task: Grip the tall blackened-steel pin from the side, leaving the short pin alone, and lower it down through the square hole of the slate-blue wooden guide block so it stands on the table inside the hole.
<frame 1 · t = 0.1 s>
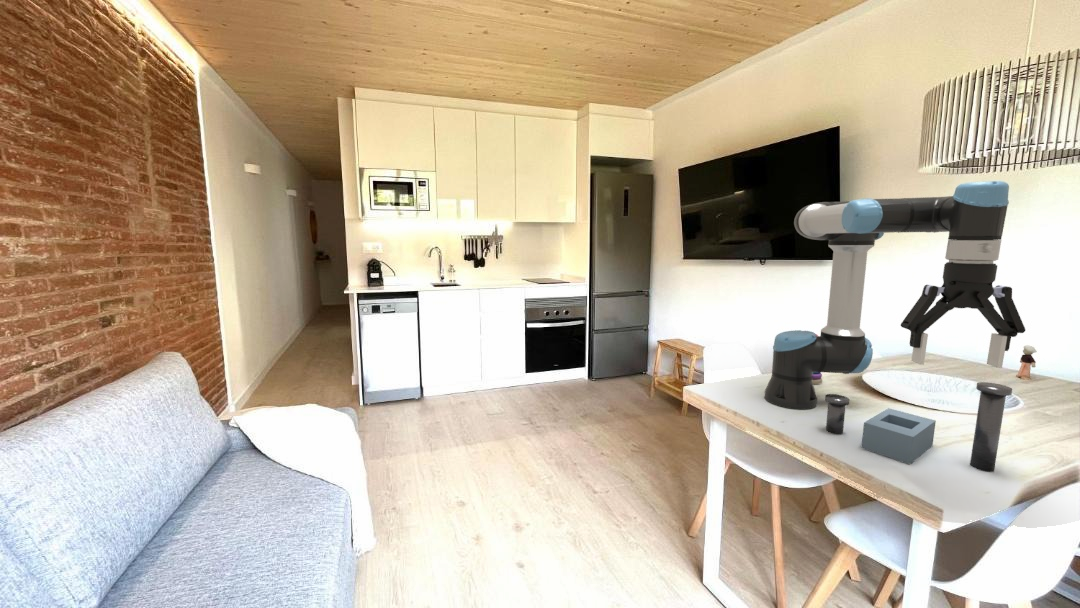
hand: (955, 364, 89), 28 cm above the table, tool pointing down, fingers open, 13 cm apart
guide block: (896, 446, 112), on the table
stacking toy: (809, 382, 162), on the table
tall pin: (981, 467, 101), on the table
grandmother figurine: (1024, 378, 161), on the table
short pin: (834, 431, 121), on the table
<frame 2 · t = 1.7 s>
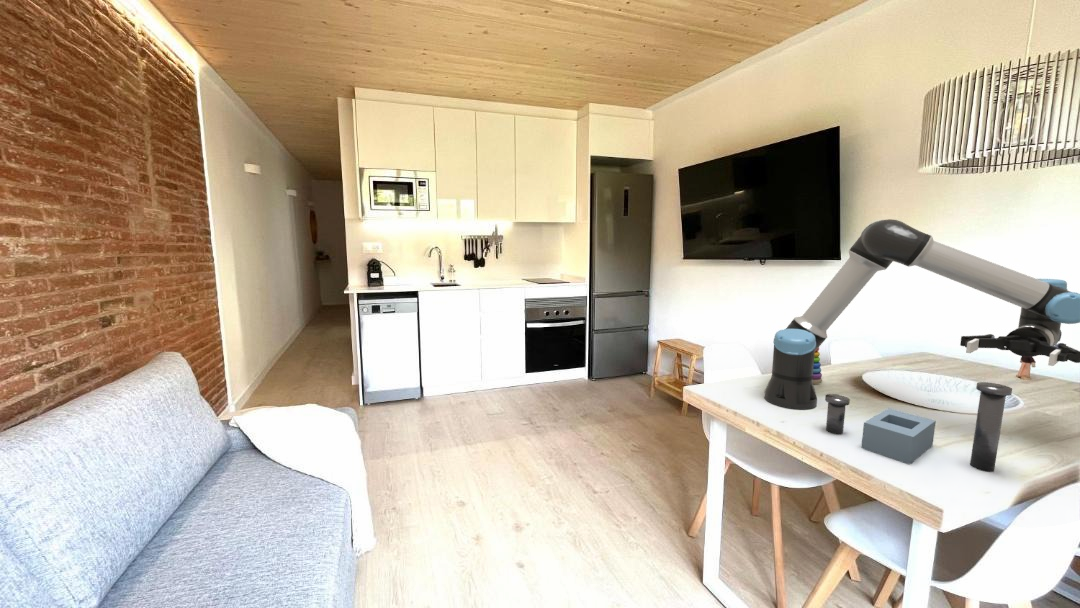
hand: (1007, 353, 102), 26 cm above the table, tool horizontal, fingers open, 13 cm apart
nothing on the table moved.
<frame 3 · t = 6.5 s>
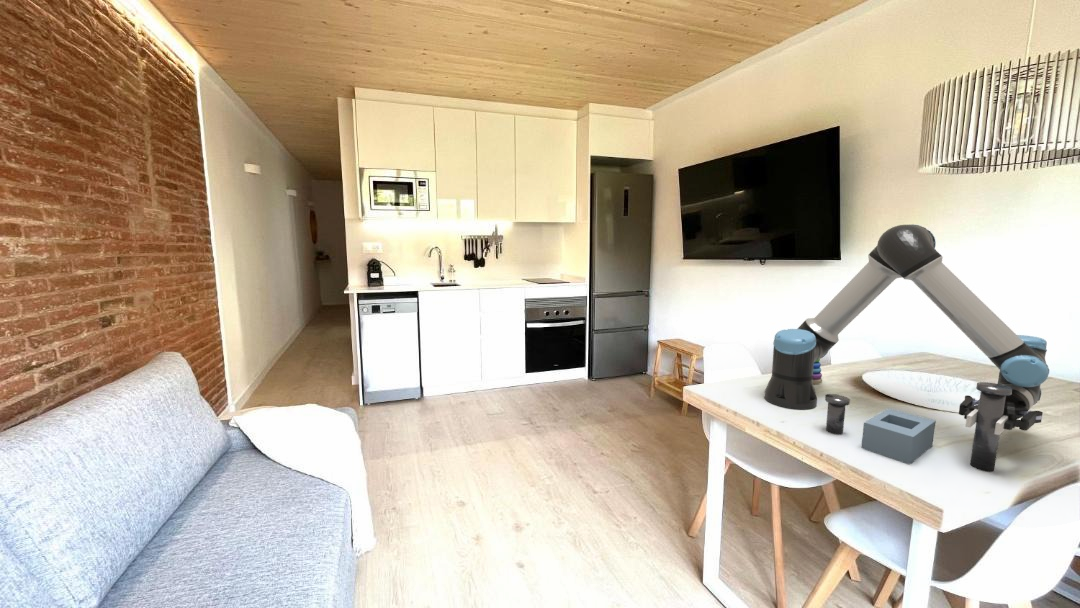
hand: (982, 425, 97), 12 cm above the table, tool horizontal, fingers closed on tall pin, 4 cm apart
tall pin: (981, 467, 101), on the table, touching gripper
everything else where it was.
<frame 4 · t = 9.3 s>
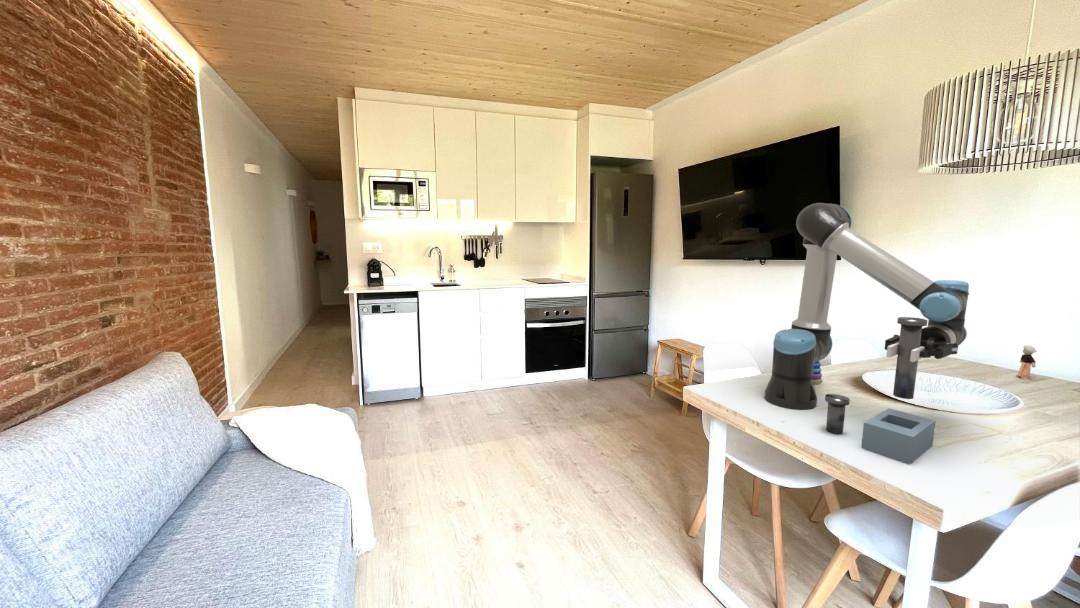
hand: (900, 354, 105), 26 cm above the table, tool horizontal, fingers closed on tall pin, 4 cm apart
tall pin: (903, 396, 109), point 14 cm above the table, touching gripper
everything else where it was.
when the fingers open (13 cm above the table, at t = 12.4 s): tall pin drops 2 cm, resting in guide block.
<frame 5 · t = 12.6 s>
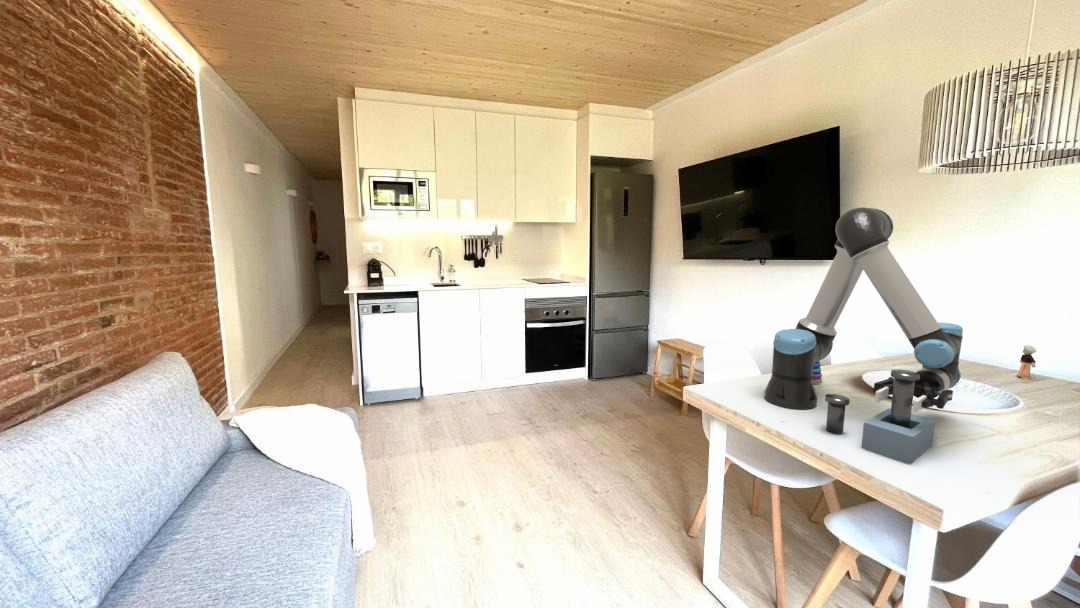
hand: (895, 401, 107), 13 cm above the table, tool horizontal, fingers open, 7 cm apart
tall pin: (896, 446, 112), resting in guide block
everything else where it was.
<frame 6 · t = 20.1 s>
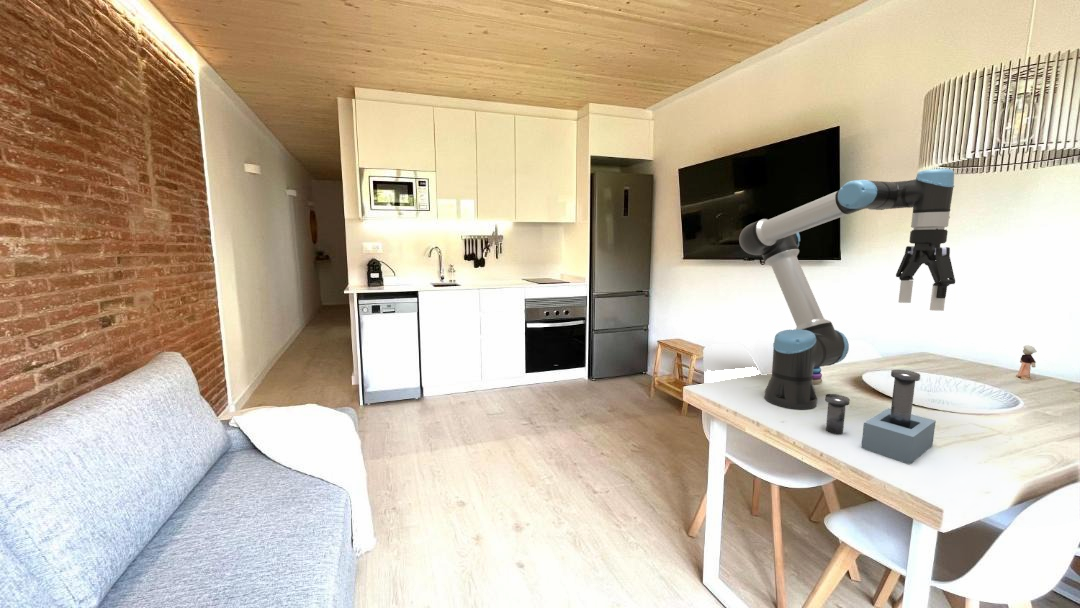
hand: (919, 306, 119), 35 cm above the table, tool pointing down, fingers open, 13 cm apart
nothing on the table moved.
at the end: tall pin 0.0 cm off-centre on the guide block, point 0.0 cm above the guide block's base; tall pin tilted 0°; the gripper is holding nothing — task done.
